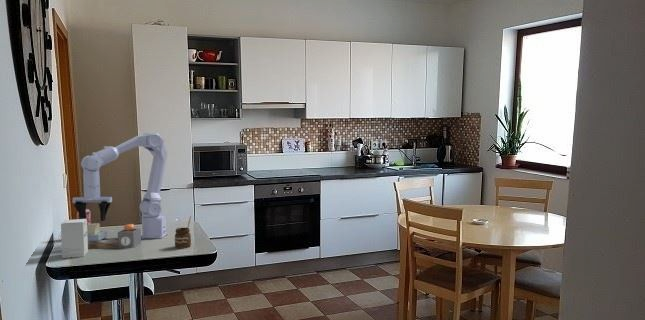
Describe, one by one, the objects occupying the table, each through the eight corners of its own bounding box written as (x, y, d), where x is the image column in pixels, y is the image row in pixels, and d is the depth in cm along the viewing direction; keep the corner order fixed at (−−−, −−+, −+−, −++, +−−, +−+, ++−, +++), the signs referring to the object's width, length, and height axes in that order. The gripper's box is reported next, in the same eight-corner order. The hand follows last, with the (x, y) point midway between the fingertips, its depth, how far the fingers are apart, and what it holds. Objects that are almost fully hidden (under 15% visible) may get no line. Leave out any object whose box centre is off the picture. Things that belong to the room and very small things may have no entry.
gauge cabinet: (140, 243, 185) (140, 228, 185) (133, 247, 178) (132, 232, 177) (125, 243, 185) (125, 228, 185) (117, 247, 178) (117, 232, 177)
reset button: (135, 229, 183) (135, 224, 183) (132, 231, 180) (131, 225, 179) (126, 229, 183) (126, 224, 183) (122, 231, 180) (122, 225, 179)
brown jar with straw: (176, 245, 181) (175, 214, 181) (193, 244, 182) (192, 214, 181) (173, 248, 175) (172, 217, 175) (190, 248, 176) (189, 217, 175)
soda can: (85, 239, 193) (84, 211, 192) (74, 239, 194) (73, 210, 193) (94, 236, 198) (93, 209, 197) (83, 236, 199) (82, 208, 198)
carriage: (107, 236, 185) (106, 222, 185) (98, 240, 178) (98, 226, 178) (89, 236, 185) (89, 222, 185) (80, 240, 178) (79, 226, 178)
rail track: (126, 243, 186) (126, 231, 185) (117, 247, 178) (117, 236, 177) (84, 243, 186) (83, 232, 185) (73, 248, 178) (73, 236, 177)
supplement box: (84, 256, 165) (83, 221, 165) (61, 258, 163) (59, 223, 162) (88, 251, 172) (87, 218, 172) (66, 253, 170) (65, 219, 170)
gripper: (67, 187, 176) (69, 222, 177) (105, 187, 176) (107, 222, 177) (77, 185, 183) (78, 219, 184) (114, 185, 183) (115, 219, 184)
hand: (93, 220), depth 181 cm, fingers open, 7 cm apart
